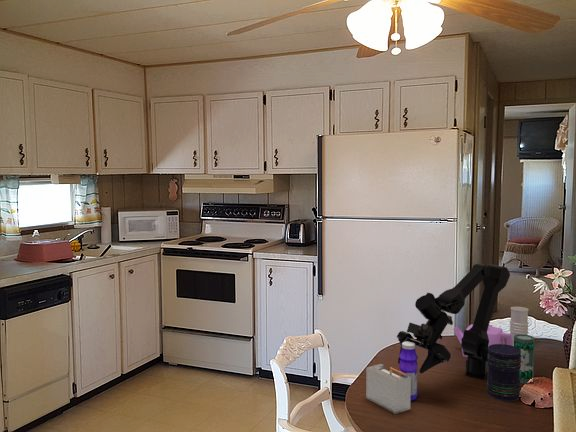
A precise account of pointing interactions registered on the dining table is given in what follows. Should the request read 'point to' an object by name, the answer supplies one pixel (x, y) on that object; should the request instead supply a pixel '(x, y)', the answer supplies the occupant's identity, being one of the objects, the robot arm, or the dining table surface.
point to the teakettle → (489, 336)
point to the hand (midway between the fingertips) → (409, 368)
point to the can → (525, 356)
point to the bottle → (409, 365)
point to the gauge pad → (393, 373)
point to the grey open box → (388, 389)
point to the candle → (519, 321)
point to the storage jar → (503, 372)
